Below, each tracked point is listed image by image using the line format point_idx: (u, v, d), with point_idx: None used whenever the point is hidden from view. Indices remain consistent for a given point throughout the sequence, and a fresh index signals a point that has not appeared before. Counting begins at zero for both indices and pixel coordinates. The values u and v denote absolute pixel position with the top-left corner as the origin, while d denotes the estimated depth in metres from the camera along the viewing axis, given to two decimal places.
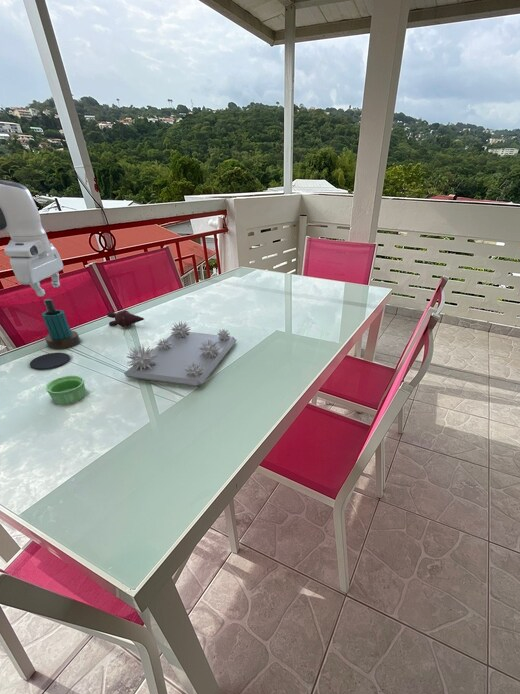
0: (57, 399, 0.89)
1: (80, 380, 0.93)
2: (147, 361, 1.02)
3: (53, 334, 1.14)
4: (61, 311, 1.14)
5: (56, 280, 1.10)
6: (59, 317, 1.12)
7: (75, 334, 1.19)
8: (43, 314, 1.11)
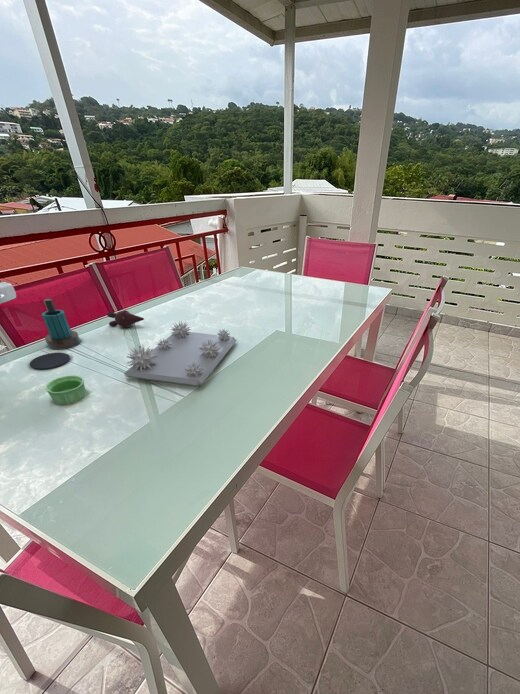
0: (57, 399, 0.89)
1: (80, 380, 0.93)
2: (147, 361, 1.02)
3: (53, 334, 1.14)
4: (61, 311, 1.14)
5: None
6: (59, 317, 1.12)
7: (75, 334, 1.19)
8: (43, 314, 1.11)
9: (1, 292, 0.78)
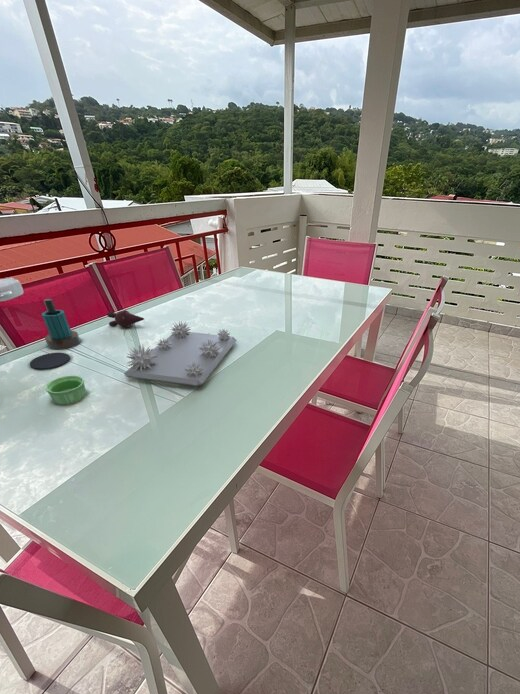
0: (57, 399, 0.89)
1: (80, 380, 0.93)
2: (147, 361, 1.02)
3: (53, 334, 1.14)
4: (61, 311, 1.14)
5: None
6: (59, 317, 1.12)
7: (75, 334, 1.19)
8: (43, 314, 1.11)
9: (9, 289, 0.81)
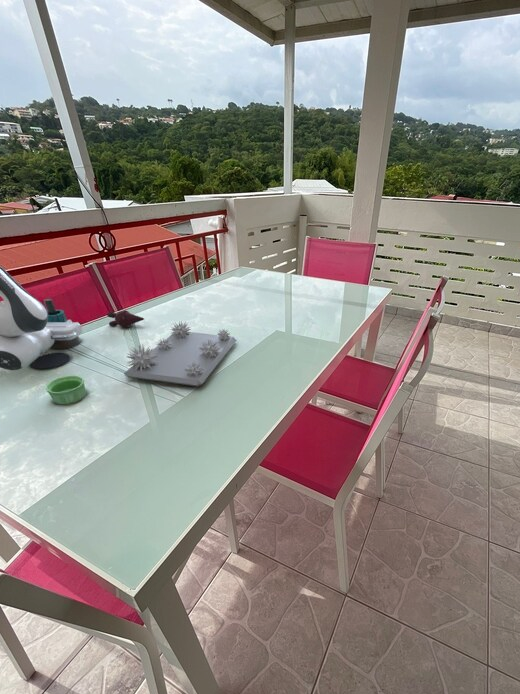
0: (57, 399, 0.89)
1: (80, 380, 0.93)
2: (147, 361, 1.02)
3: None
4: (61, 311, 1.14)
5: None
6: (59, 317, 1.12)
7: None
8: None
9: (74, 331, 1.09)
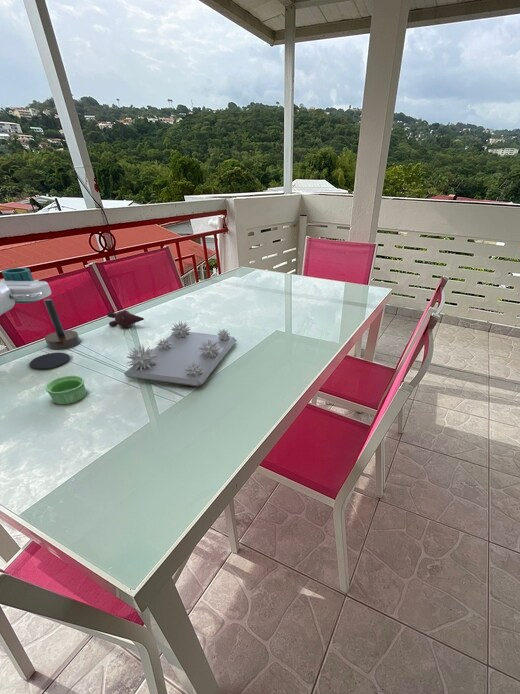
0: (57, 399, 0.89)
1: (80, 380, 0.93)
2: (147, 361, 1.02)
3: None
4: (26, 269, 0.95)
5: None
6: (23, 275, 0.93)
7: (75, 334, 1.19)
8: (3, 271, 0.92)
9: (39, 290, 0.89)
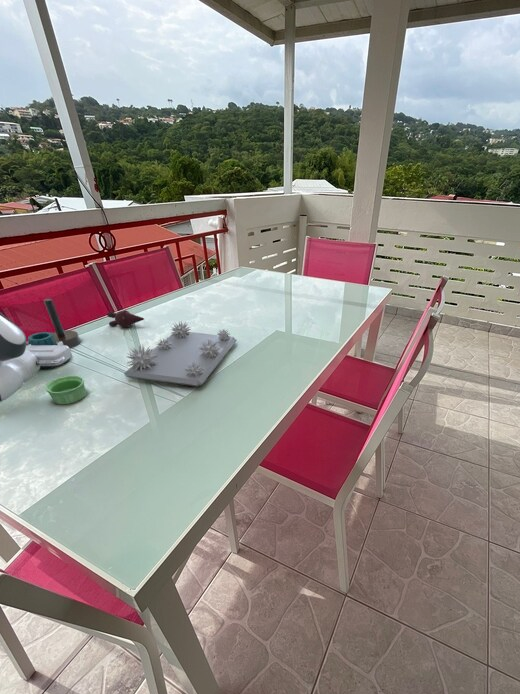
0: (57, 399, 0.89)
1: (80, 380, 0.93)
2: (147, 361, 1.02)
3: None
4: (50, 334, 1.05)
5: None
6: (47, 341, 1.03)
7: (75, 334, 1.19)
8: (29, 338, 1.02)
9: (62, 355, 0.99)
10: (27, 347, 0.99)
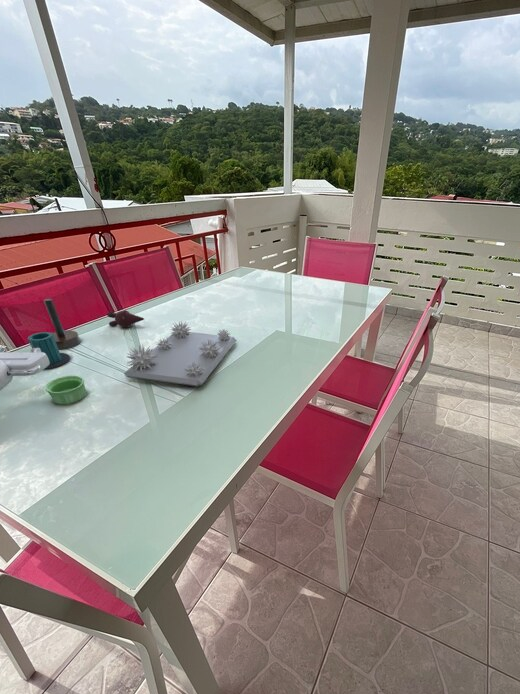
0: (57, 399, 0.89)
1: (80, 380, 0.93)
2: (147, 361, 1.02)
3: None
4: (50, 334, 1.05)
5: None
6: (47, 341, 1.03)
7: (75, 334, 1.19)
8: (29, 338, 1.02)
9: (37, 364, 0.88)
10: None
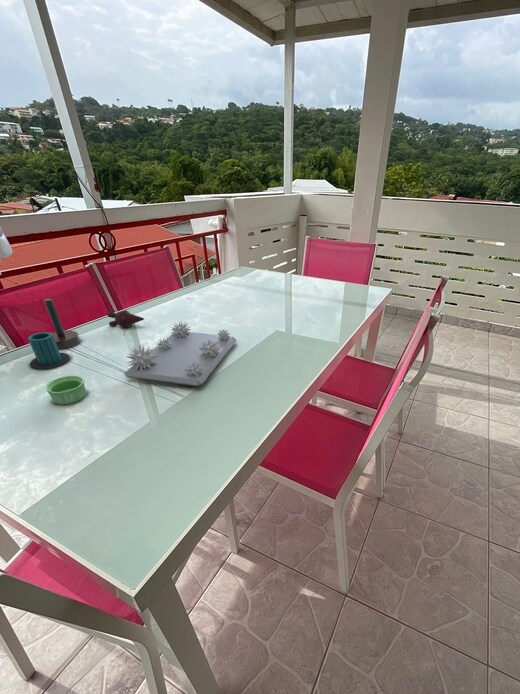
0: (57, 399, 0.89)
1: (80, 380, 0.93)
2: (147, 361, 1.02)
3: (41, 359, 1.04)
4: (50, 334, 1.05)
5: None
6: (47, 341, 1.03)
7: (75, 334, 1.19)
8: (29, 338, 1.02)
9: (2, 235, 0.83)
10: None
